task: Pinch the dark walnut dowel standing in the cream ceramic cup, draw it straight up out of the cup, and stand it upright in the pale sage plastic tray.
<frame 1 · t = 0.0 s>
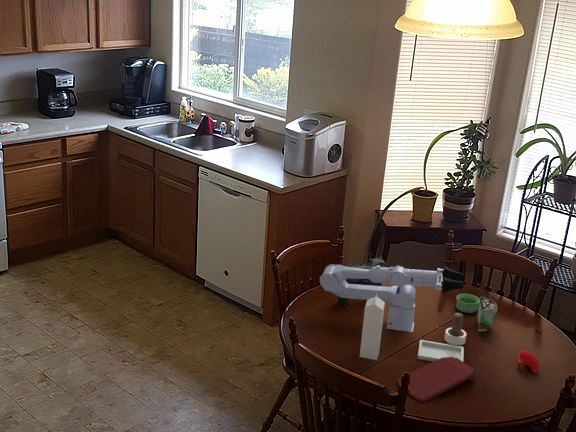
hand: (463, 281, 248), 22 cm above the table, tool horizontal, fingers open, 7 cm apart
ceramic cat: (360, 302, 277), on the table
dark red slab: (436, 384, 226), on the table
cup: (454, 341, 251), on the table
food container: (485, 328, 263), on the table
ramekin: (466, 309, 277), on the table
dowel: (454, 340, 251), resting on cup
milk: (369, 354, 239), on the table
red helmet: (526, 369, 237), on the table
tray: (440, 355, 241), on the table
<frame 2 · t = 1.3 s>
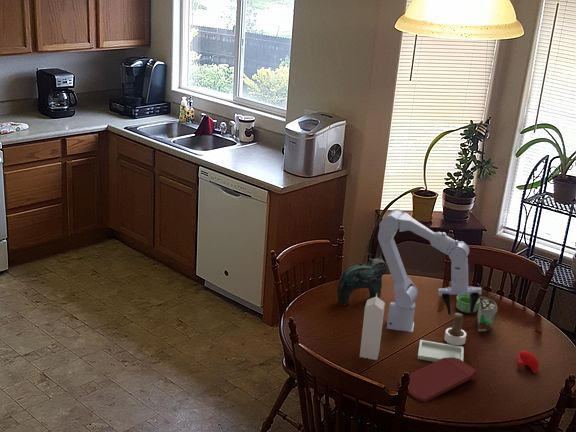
hand: (460, 313, 248), 11 cm above the table, tool pointing down, fingers open, 7 cm apart
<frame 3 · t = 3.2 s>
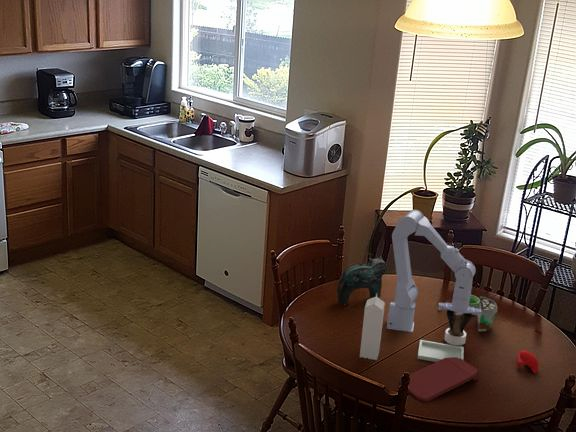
hand: (456, 330, 250), 4 cm above the table, tool pointing down, fingers closed on dowel, 3 cm apart
dowel: (454, 340, 251), resting on cup, touching gripper
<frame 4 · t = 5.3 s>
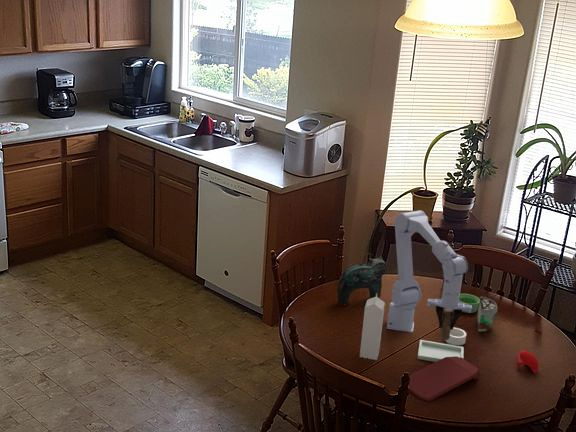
hand: (445, 327, 239), 10 cm above the table, tool pointing down, fingers closed on dowel, 3 cm apart
dowel: (444, 337, 240), point 7 cm above the table, touching gripper
when the fingers open (5 cm above the table, at t = 7.4 s): dowel stays where it is, resting on tray.
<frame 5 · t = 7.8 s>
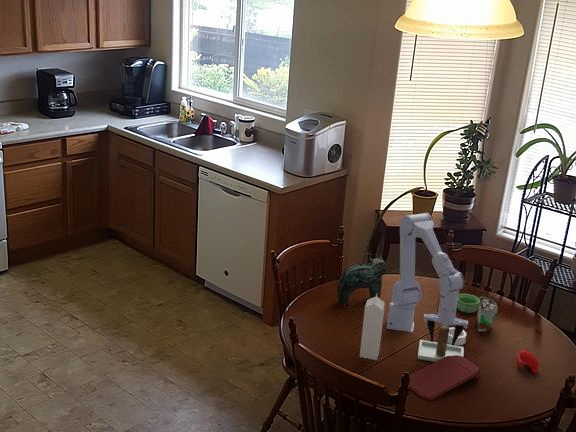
hand: (442, 342, 240), 5 cm above the table, tool pointing down, fingers open, 6 cm apart
dark red slab: (442, 382, 227), on the table, touching tray
dowel: (440, 354, 241), point 1 cm above the table, touching tray
everything else where it was.
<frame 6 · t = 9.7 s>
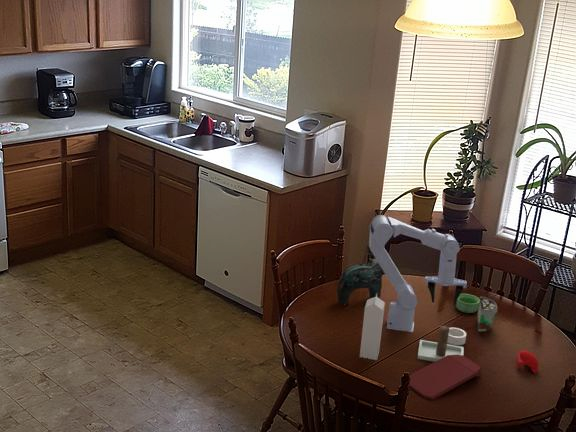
hand: (443, 302, 257), 10 cm above the table, tool pointing down, fingers open, 7 cm apart
dark red slab: (443, 381, 227), on the table
everything else where it was.
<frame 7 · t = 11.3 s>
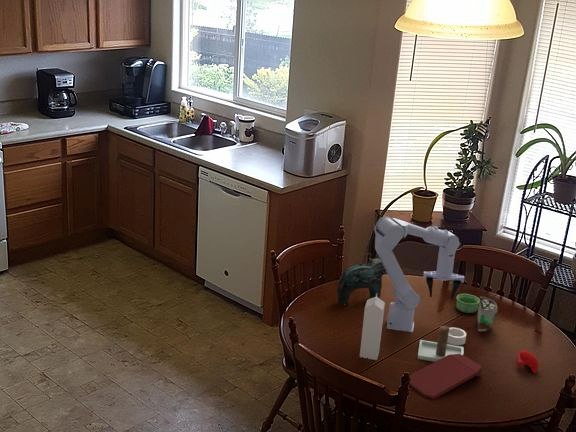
hand: (441, 297, 261), 10 cm above the table, tool pointing down, fingers open, 7 cm apart
dark red slab: (444, 381, 228), on the table, touching tray
everything else where it was.
at the end: dowel inside the target area on the tray (0.1 cm from its centre), point 0.6 cm above the tray's base; dowel tilted 0°; the gripper is holding nothing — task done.
